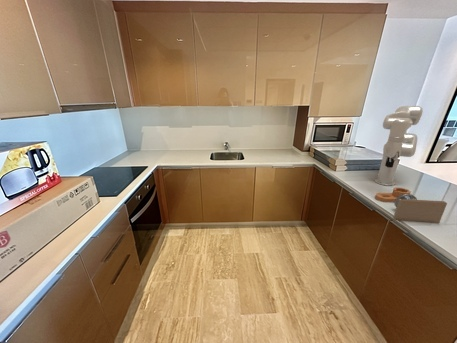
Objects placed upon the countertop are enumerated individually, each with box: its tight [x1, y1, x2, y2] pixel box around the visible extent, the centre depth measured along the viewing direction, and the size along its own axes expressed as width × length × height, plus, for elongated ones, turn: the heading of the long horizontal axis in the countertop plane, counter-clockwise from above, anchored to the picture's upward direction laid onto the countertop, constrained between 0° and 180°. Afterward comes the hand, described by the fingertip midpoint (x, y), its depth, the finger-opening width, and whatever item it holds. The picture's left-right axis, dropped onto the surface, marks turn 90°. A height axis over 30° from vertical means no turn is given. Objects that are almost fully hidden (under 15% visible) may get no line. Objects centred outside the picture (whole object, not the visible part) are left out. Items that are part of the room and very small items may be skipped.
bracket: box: [374, 186, 412, 204], centre depth 124 cm, size 18×8×7 cm, turn 83°
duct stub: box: [392, 193, 448, 224], centre depth 106 cm, size 12×20×12 cm, turn 78°
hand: (388, 166), depth 128 cm, fingers closed
